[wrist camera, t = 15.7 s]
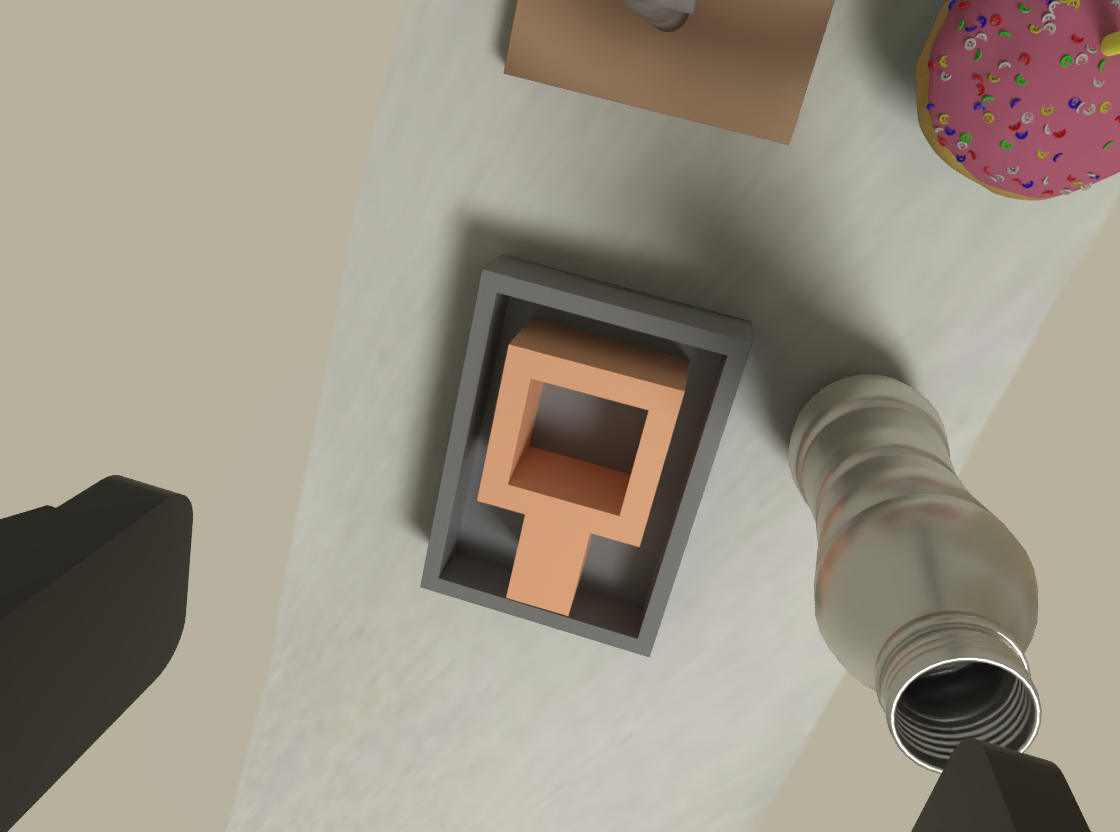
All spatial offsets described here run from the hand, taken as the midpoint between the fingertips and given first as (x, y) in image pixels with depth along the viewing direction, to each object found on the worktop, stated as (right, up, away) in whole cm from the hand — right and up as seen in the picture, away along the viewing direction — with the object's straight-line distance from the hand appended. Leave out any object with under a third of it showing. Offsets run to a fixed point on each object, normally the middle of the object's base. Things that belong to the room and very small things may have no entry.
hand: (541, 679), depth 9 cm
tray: (+1, +1, +34) cm, 34 cm away
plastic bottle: (+14, +2, +32) cm, 35 cm away
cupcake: (+18, +16, +26) cm, 35 cm away
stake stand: (+5, +19, +27) cm, 33 cm away
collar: (+1, +1, +34) cm, 34 cm away
